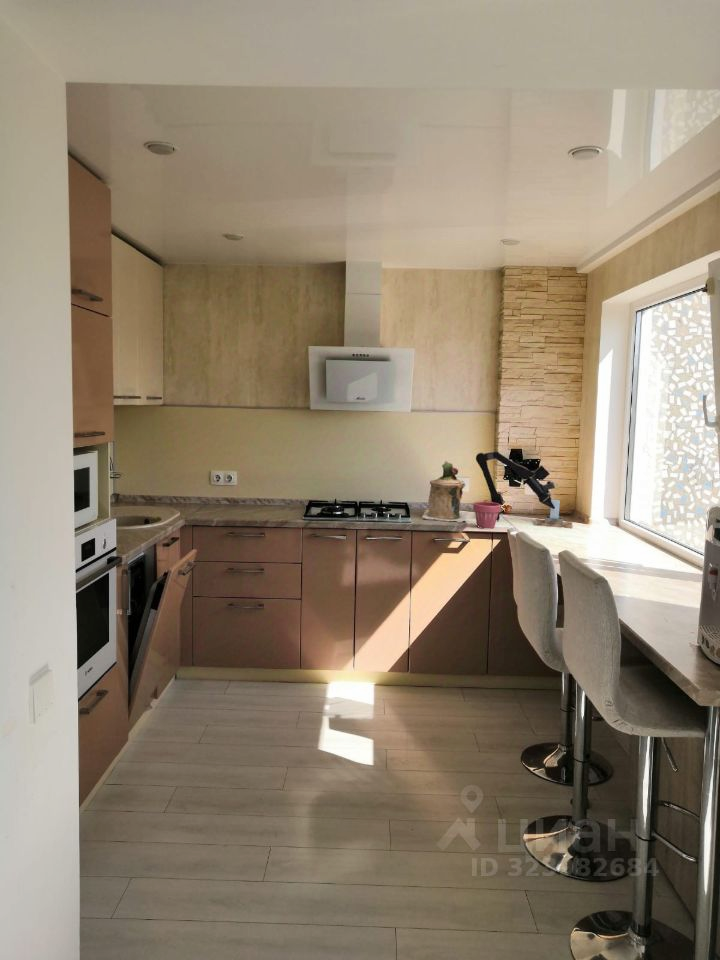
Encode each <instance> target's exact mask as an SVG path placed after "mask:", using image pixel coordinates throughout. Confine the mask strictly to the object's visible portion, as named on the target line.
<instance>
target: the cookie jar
mask: <svg viewBox="0 0 720 960" xmlns="http://www.w3.org/2000/svg"><path fill="white" fill-rule="evenodd" d="M441 466H442V471H443V472H442V475H441V476H439V477H438V478H437V479H431V480H429V484H430V489H429V490H430V491H429V495H428V502H427V504H428V509H425V511H424V513H423V514H422V516H421V517H422V520H423V519H424V520H429V521H431V520H435V521H440V522H449V521H453V520H456V521H465V522H466V521H467V519H468V513H467V512H460V510H461V508H462V505H461V500H462V498H463V493H464V492H463V489H464V483H463V482H462V480H459V478H457V476H456V475H458V474H459V468H457V467H454V465H453V463H450V462H448V461H444V463H443V464H442V465H441Z"/></svg>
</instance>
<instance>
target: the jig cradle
mask: <svg viewBox="0 0 720 960" xmlns="http://www.w3.org/2000/svg"><path fill="white" fill-rule="evenodd" d="M534 526H538V527H539V526H542V527H553V528H562V527H564V529H565V528H566V529H573V522H572V521H571V522H570V521H564V516H559V519H554V518H550V515H548V514H547V515H545V516H544V519H537V518H536V519H535V521H534Z"/></svg>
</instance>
